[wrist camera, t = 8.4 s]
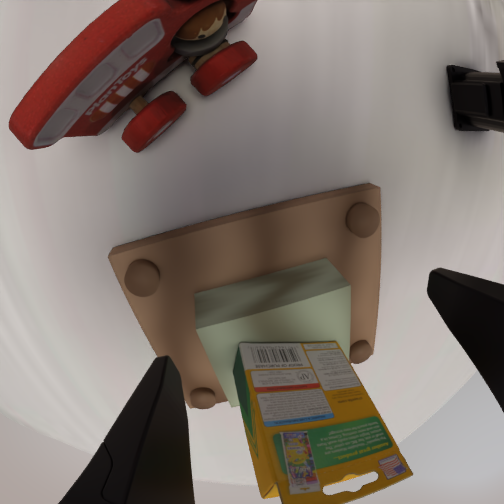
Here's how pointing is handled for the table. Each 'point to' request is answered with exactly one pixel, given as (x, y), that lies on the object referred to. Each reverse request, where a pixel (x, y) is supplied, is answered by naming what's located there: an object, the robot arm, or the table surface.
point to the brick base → (246, 257)
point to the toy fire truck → (132, 70)
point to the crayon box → (311, 423)
